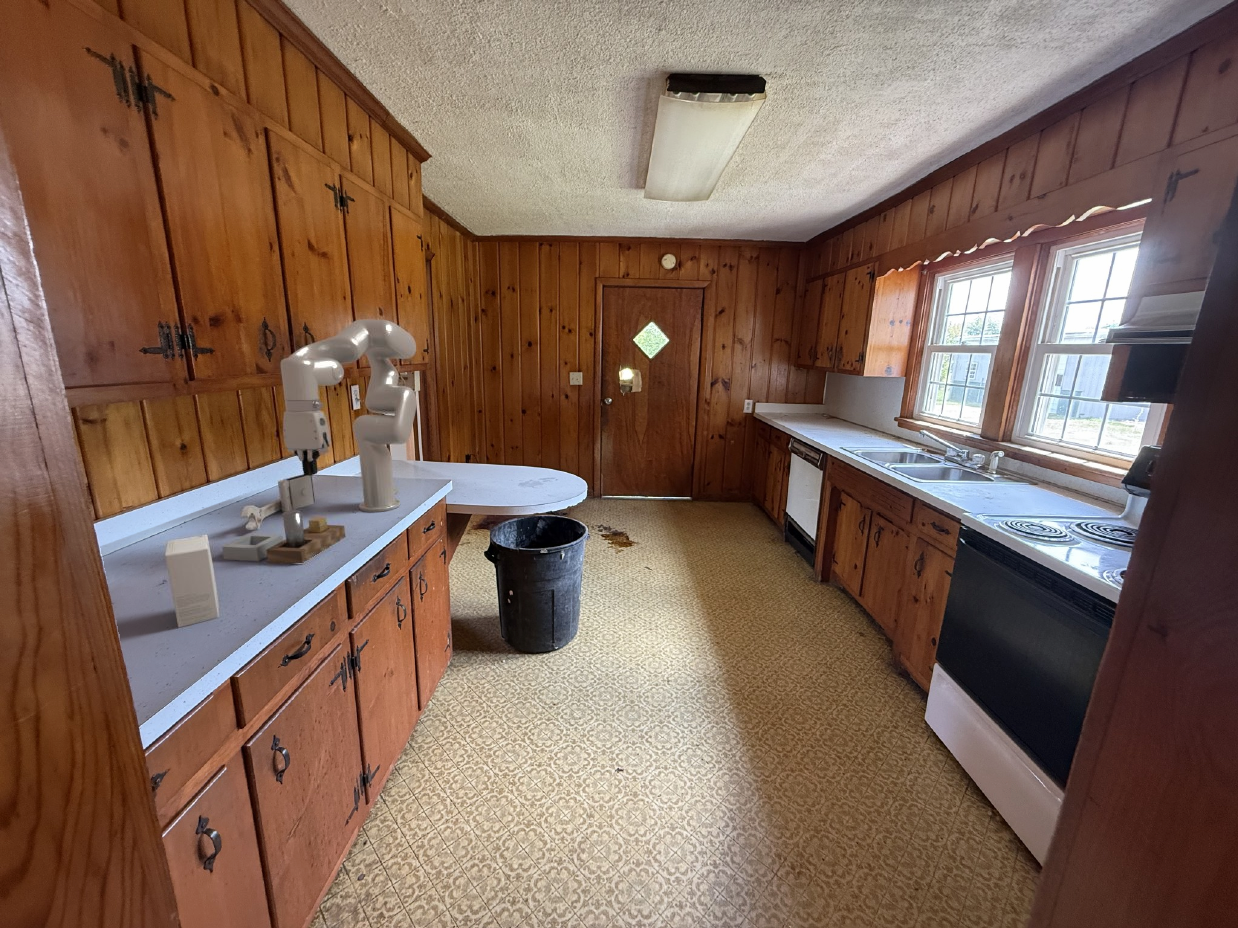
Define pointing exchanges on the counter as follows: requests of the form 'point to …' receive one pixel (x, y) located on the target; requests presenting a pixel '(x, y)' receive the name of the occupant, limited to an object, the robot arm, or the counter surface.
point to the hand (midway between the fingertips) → (310, 474)
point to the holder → (250, 547)
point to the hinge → (296, 492)
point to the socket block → (306, 546)
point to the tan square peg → (318, 525)
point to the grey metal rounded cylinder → (294, 529)
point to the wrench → (259, 514)
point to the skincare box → (192, 580)
